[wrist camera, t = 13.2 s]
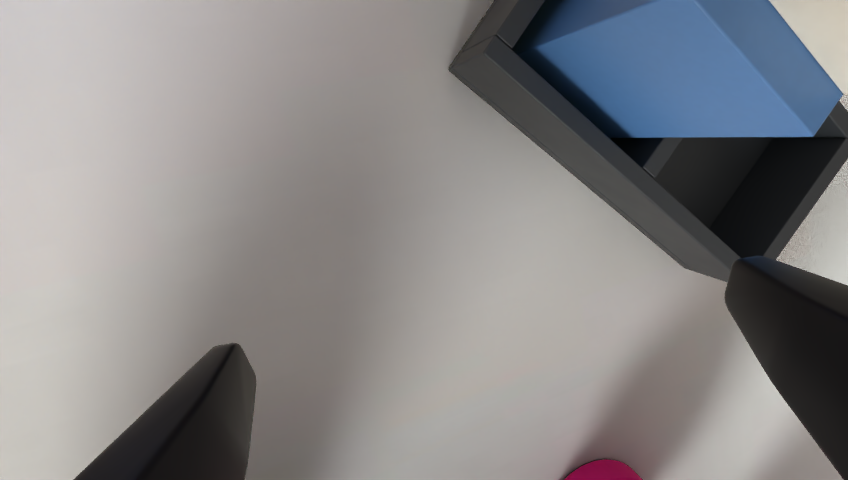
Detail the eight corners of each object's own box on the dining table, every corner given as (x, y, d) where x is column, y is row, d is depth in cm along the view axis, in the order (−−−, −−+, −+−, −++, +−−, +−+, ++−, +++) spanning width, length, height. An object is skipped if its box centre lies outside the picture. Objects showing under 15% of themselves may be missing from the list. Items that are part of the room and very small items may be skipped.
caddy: (684, 268, 25) (753, 291, 22) (446, 69, 20) (482, 53, 16) (778, 134, 25) (866, 133, 21) (564, -105, 20) (629, -164, 16)
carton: (592, 138, 21) (969, 137, 9) (502, 59, 20) (829, -68, 8) (661, 36, 21) (1138, -99, 9) (578, -53, 19) (1035, -366, 7)
